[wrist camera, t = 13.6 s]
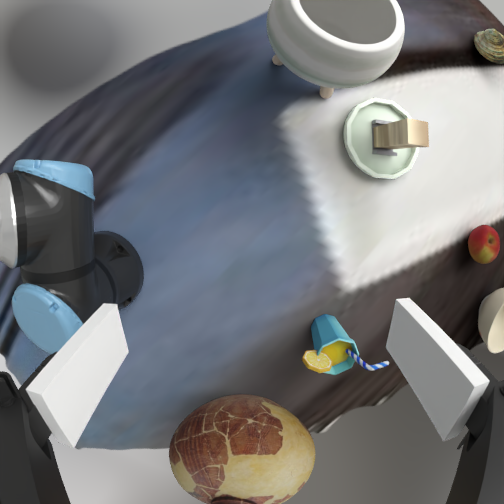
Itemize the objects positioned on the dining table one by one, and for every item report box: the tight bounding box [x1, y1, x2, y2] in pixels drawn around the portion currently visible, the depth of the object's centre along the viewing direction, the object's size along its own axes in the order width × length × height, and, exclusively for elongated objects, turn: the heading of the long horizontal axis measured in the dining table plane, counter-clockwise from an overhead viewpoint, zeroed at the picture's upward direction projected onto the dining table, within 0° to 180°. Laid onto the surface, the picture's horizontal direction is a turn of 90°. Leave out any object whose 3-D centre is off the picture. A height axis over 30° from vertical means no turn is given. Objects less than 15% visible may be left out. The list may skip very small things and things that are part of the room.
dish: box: [343, 98, 419, 179], centre depth 43 cm, size 14×14×3 cm
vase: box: [169, 394, 315, 504], centre depth 46 cm, size 28×27×30 cm
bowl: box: [478, 288, 504, 353], centre depth 49 cm, size 16×16×10 cm
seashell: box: [474, 29, 504, 64], centre depth 31 cm, size 11×11×10 cm
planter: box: [267, 0, 405, 99], centre depth 30 cm, size 16×16×22 cm
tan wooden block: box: [373, 118, 429, 149], centre depth 37 cm, size 4×4×12 cm
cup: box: [302, 314, 389, 375], centre depth 47 cm, size 14×8×15 cm, turn 94°
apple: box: [468, 225, 500, 264], centre depth 45 cm, size 8×8×8 cm
